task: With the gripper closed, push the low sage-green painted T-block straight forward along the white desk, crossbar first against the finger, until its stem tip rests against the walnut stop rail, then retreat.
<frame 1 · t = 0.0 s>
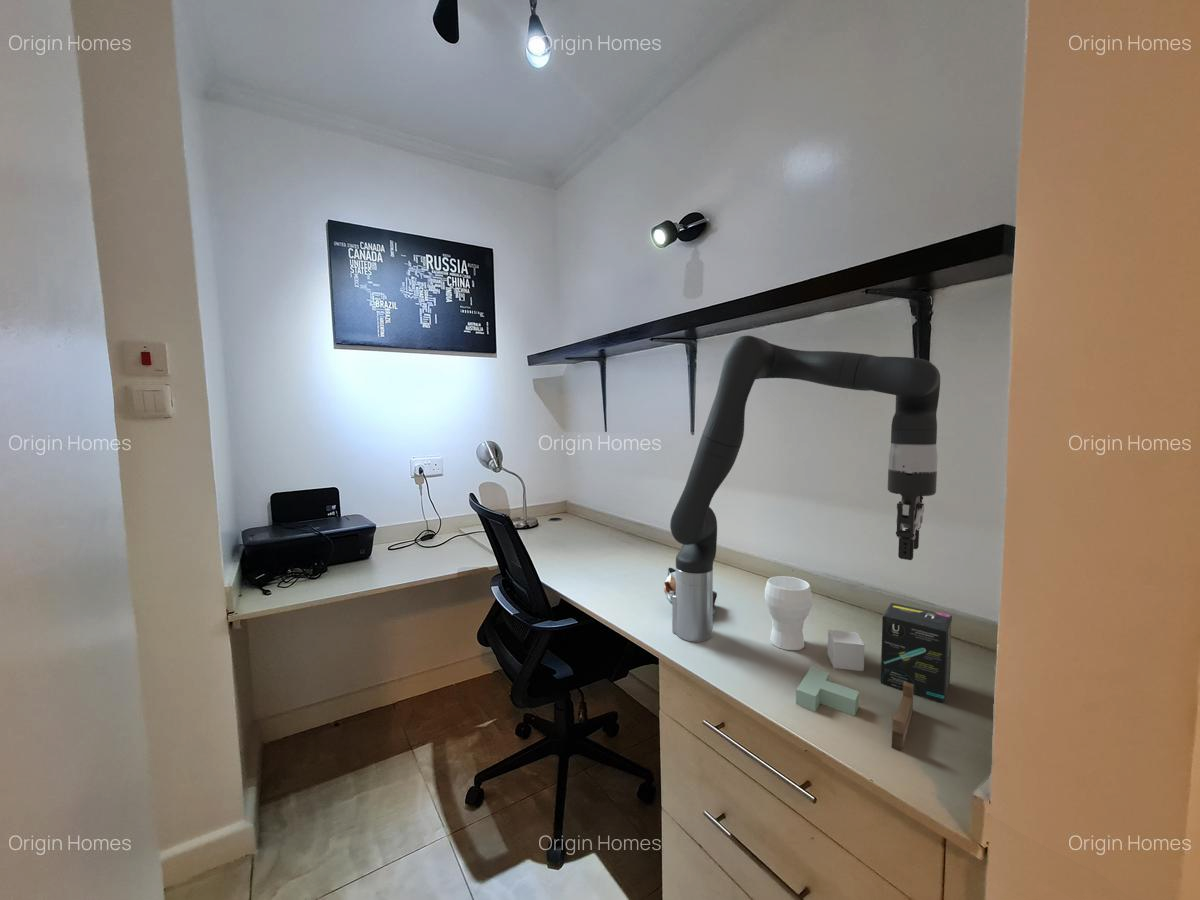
hand: (908, 553, 87), 29 cm above the table, fingers open, 8 cm apart
white cube piece: (844, 663, 104), on the table
tampon box: (914, 684, 95), on the table
t block: (813, 695, 92), on the table
lucky cat figurine: (690, 613, 131), on the table
cup: (787, 643, 113), on the table
rail: (902, 727, 82), on the table
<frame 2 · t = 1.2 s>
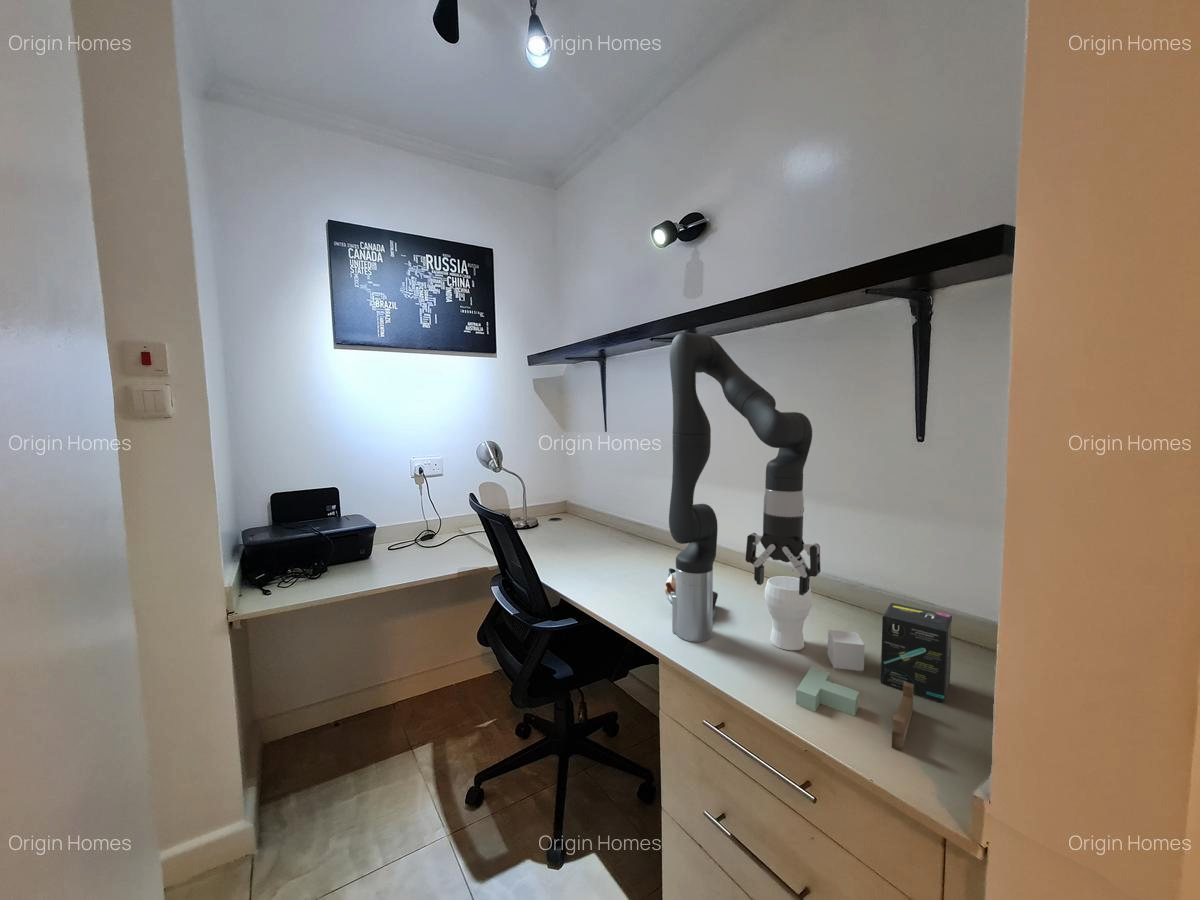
hand: (780, 588, 95), 20 cm above the table, fingers open, 8 cm apart
nothing on the table moved.
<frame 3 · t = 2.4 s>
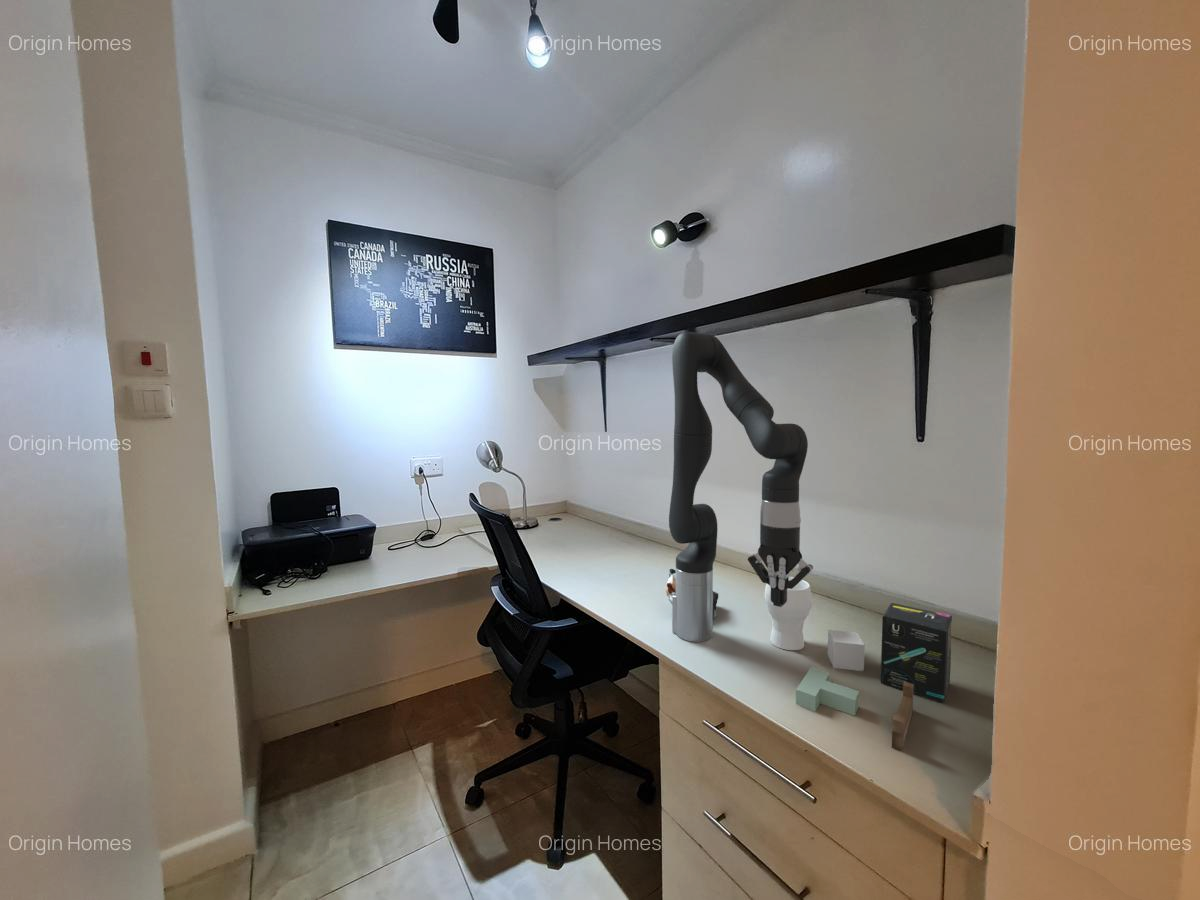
hand: (778, 605, 95), 17 cm above the table, fingers closed
nothing on the table moved.
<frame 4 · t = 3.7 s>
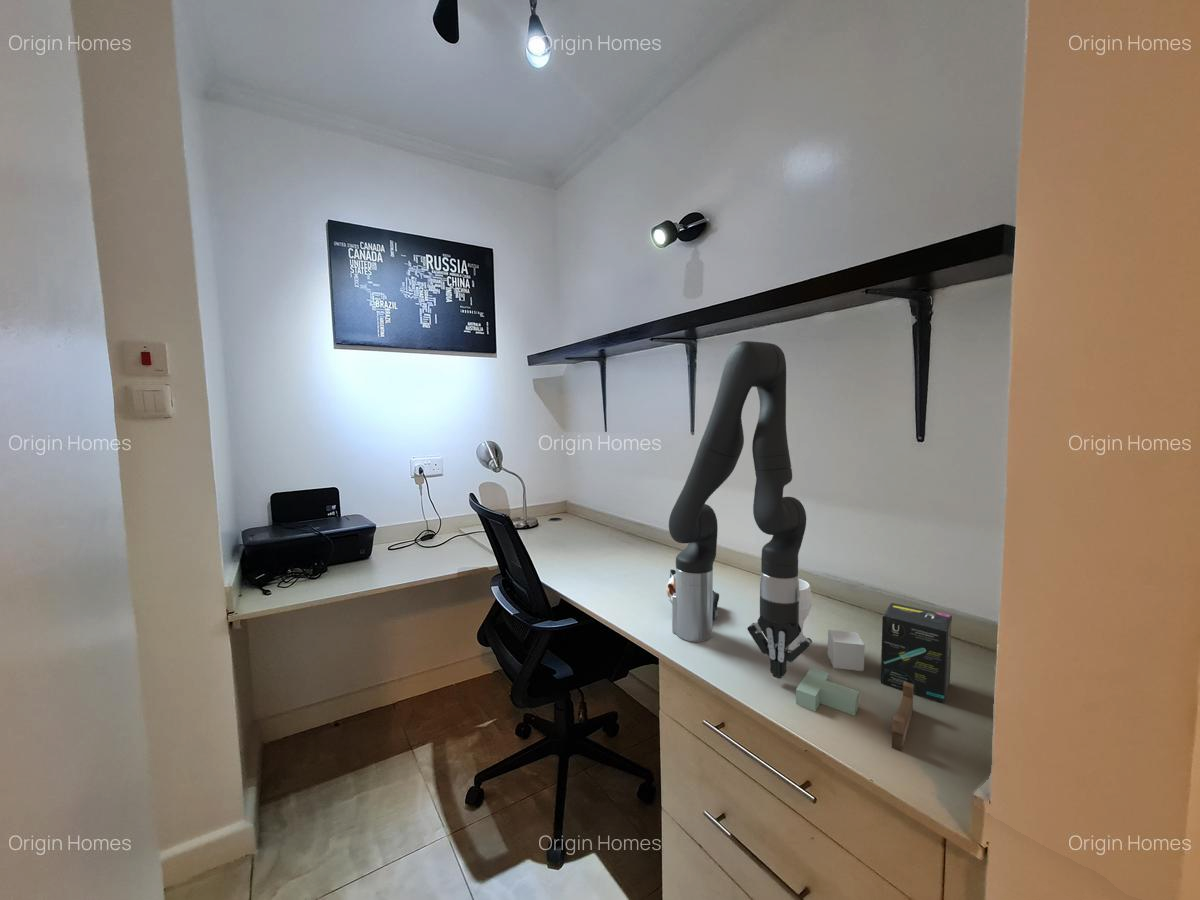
hand: (778, 676, 96), 2 cm above the table, fingers closed
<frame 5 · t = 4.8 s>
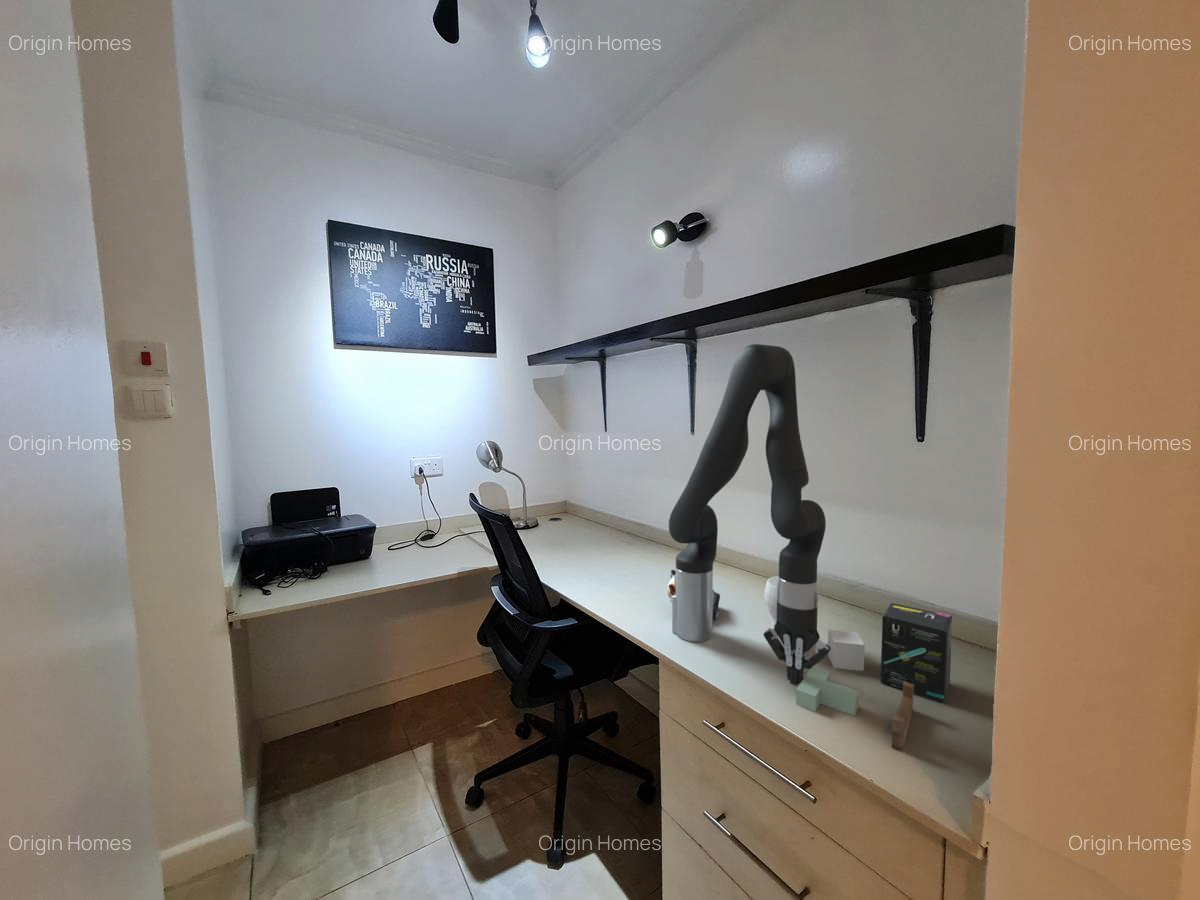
hand: (795, 683, 94), 1 cm above the table, fingers closed
t block: (813, 695, 92), on the table, touching gripper
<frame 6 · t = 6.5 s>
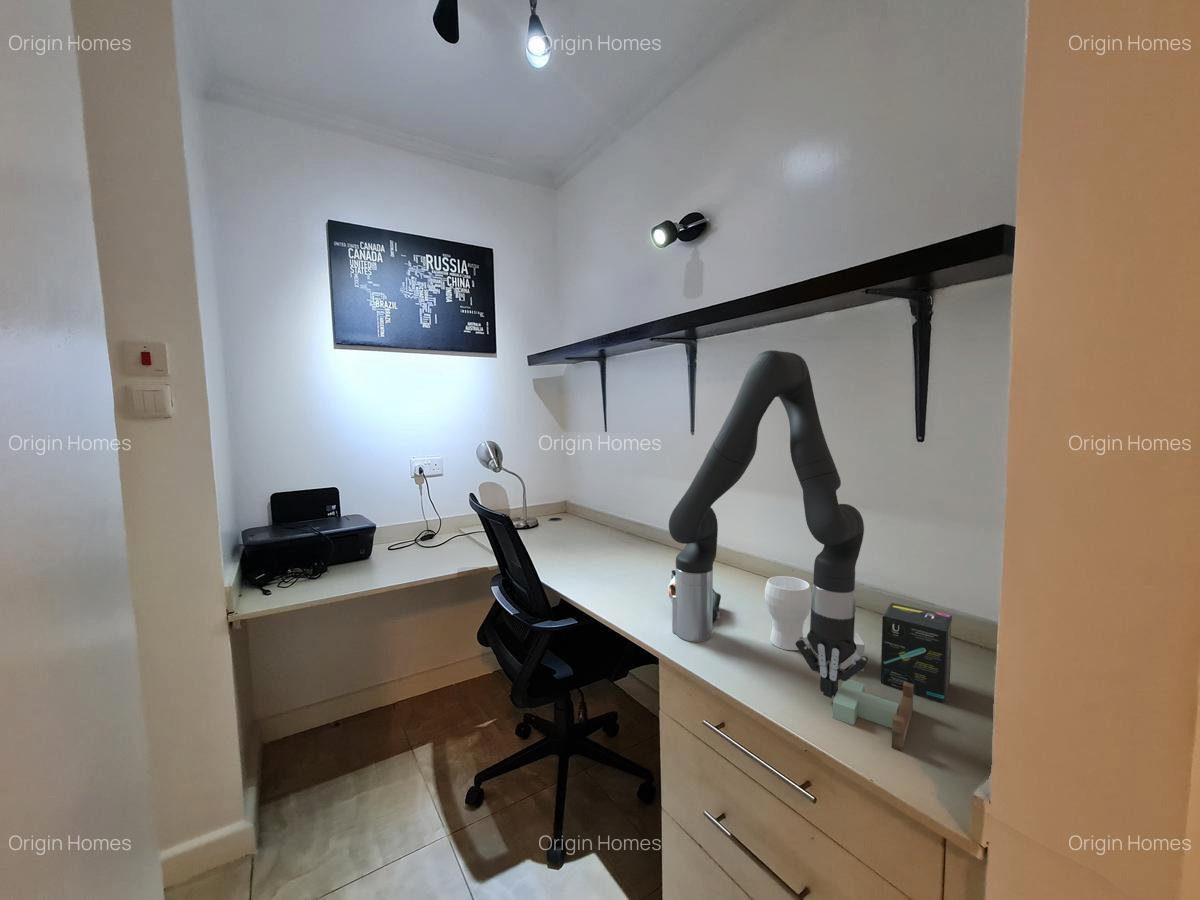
hand: (828, 694, 90), 1 cm above the table, fingers closed
t block: (848, 707, 88), on the table, touching gripper
lucky cat figurine: (694, 615, 129), on the table, touching arm
everything else where it was.
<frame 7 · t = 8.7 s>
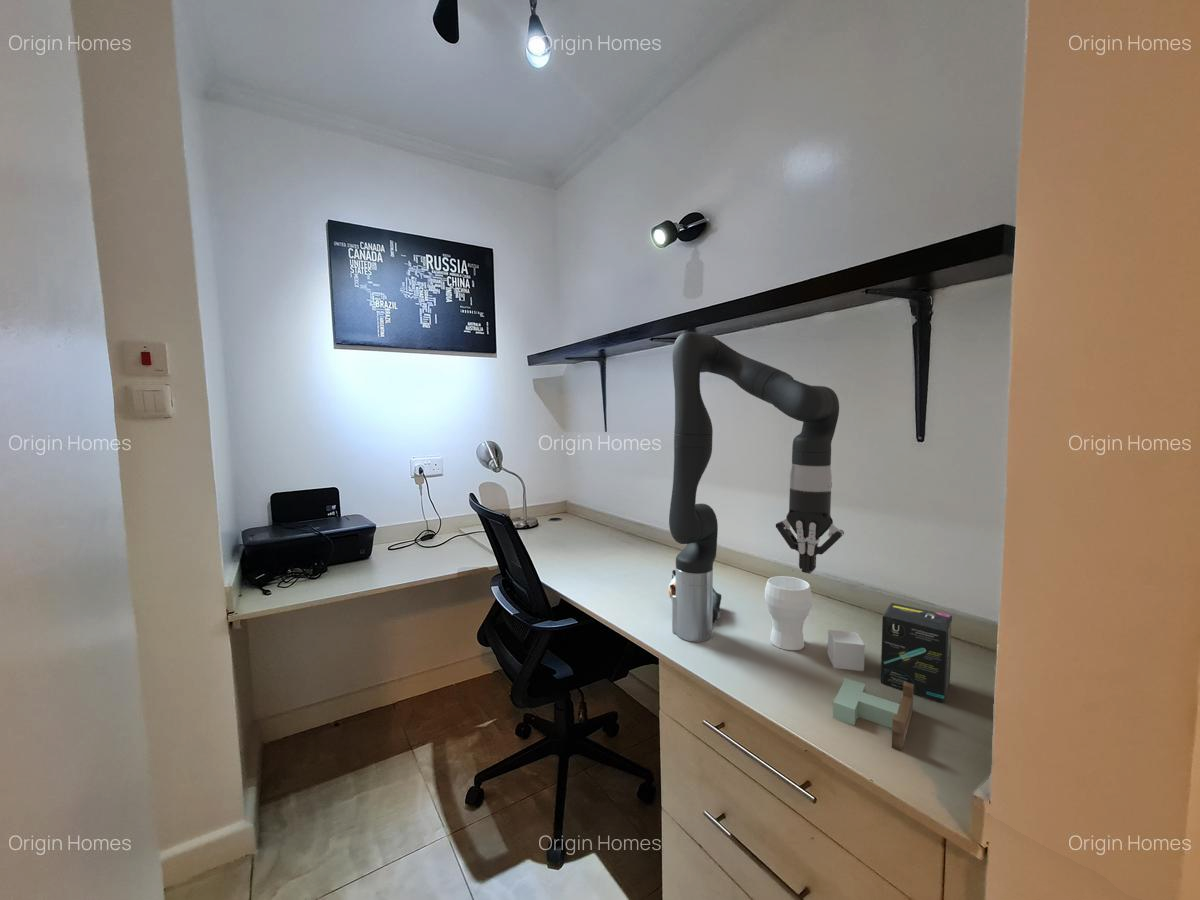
hand: (807, 571, 93), 24 cm above the table, fingers closed
t block: (849, 708, 88), on the table
everything else where it was.
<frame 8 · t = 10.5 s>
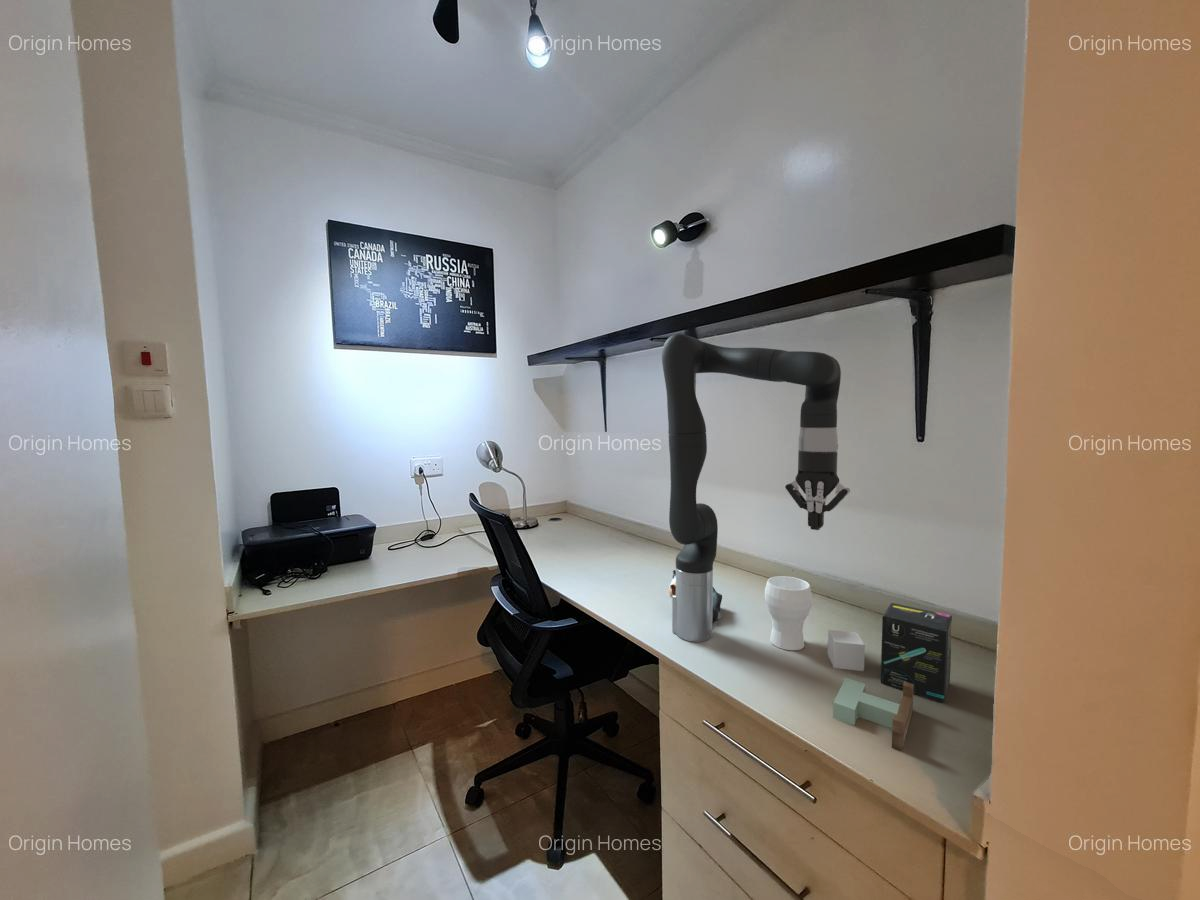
hand: (815, 529, 99), 31 cm above the table, fingers closed
nothing on the table moved.
at the end: t block inside the target area on the table beside the rail (0.5 cm from its centre), on the table; t block moved 6.5 cm from its start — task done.
